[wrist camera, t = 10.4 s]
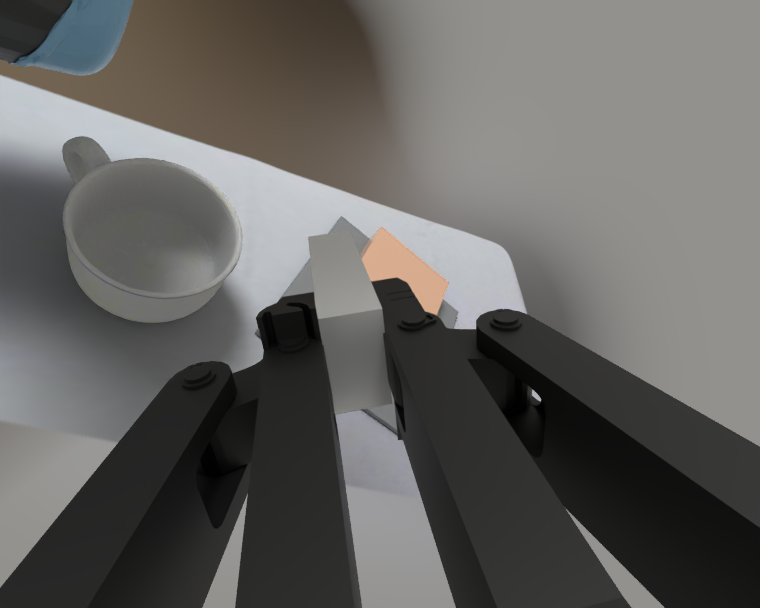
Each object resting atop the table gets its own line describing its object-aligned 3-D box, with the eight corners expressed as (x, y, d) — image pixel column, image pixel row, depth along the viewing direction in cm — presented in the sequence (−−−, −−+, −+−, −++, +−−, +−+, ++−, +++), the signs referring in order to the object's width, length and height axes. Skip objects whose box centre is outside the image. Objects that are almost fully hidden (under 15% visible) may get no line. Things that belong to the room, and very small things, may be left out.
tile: (332, 307, 40) (381, 226, 48) (317, 320, 42) (367, 240, 50) (415, 371, 42) (449, 282, 50) (398, 380, 44) (433, 294, 53)
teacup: (238, 308, 39) (271, 262, 33) (107, 365, 31) (120, 320, 25) (154, 179, 40) (172, 112, 34) (8, 205, 32) (-1, 126, 26)
